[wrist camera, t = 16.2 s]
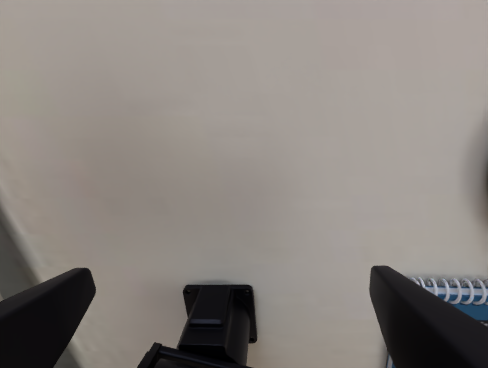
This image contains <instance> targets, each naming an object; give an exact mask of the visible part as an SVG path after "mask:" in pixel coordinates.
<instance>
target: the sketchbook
mask: <svg viewBox="0 0 488 368" xmlns="http://www.w3.org/2000/svg"><path fill="white" fill-rule="evenodd" d="M410 280H412V281H414V282H415V283H417V284H418V285H420V283H419V281H420V282H421V284H422V285H420V286H421V287H423V288H425V289H426V290H428V291H430V292H431V293H433V294H435V295H436V296H438V297H439V298H441V299H443V300H444V301H446V302H448V303H449V304H451V305H453V306H454V307H456V308H458V309H459V310H461V311H462V312H464V313H466V314H467V315H469V316H471V317H472V318H474V319H476V320H477V321H479V322H481V323H482V324H484V325H485V326H487V327H488V287H487V284H488V279H487V280H485V281H484V284H483V282H482V281H481V280H479V279H474V281H473V282H472V283H471V282H470V281H469V280H468V279H462V281H461V284H460V283H459V281H457V280H456V279H454V278H452V279H451V280H450V283H449V284H450V286H449V285H448V282H447V281H446V280H445V279H444V278H441V279H439V281H438V286H437V284H436V282H435V281H434V279H433V278H428V282H427V285H428V286H425V284H424V281H423V280H422V278H417V280H416V279H415V278H410ZM431 281H432V283H433V286H431V283H430V282H431ZM442 281H443V282H444V284H445V286H442ZM453 282H455V283H456V284H457V286H453ZM465 282H467V283H468V285H469V287H464V283H465ZM476 282H478V283H479V284H480V285H481V287H475V285H476ZM460 285H461V286H460ZM386 368H395V366H394V364H393V362H392V359H391V357H390V355H389V354H388V360H387V366H386Z"/></svg>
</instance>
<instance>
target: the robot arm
mask: <svg viewBox="0 0 488 368" xmlns="http://www.w3.org/2000/svg"><path fill="white" fill-rule="evenodd" d="M187 290H189V291H190V292H189V291H187ZM246 290H248V291H249V292H246ZM369 291H370V297H371V300H372V304H373V307H374V310H375V313H376V316H377V319H378V322H379V325H380V328H381V331H382V335H383V338H384V341H385V344H386V347H387V350H388V352H389V355H390V357H391V359H392V362H393V364H394V366H395V368H488V327H487V326H485V325H484V324H482V323H481V322H479V321H477V320H476V319H474V318H472V317H471V316H469V315H467V314H466V313H464V312H462V311H461V310H459V309H458V308H456V307H454V306H453V305H451V304H449V303H448V302H446V301H444V300H443V299H441V298H439V297H438V296H436V295H435V294H433V293H431V292H430V291H428V290H426V289H425V288H423V287H421V286H420V285H418V284H417V283H415V282H413V281H412V280H410V279H408V278H407V277H405V276H403V275H402V274H400V273H398V272H397V271H395V270H394V269H392V268H390V267H388V266H373V267H372V268H371V275H370V288H369ZM95 293H96V287H95V284H94V281H93V277H92V274H91V271H90V270H89V269H88V268H74V269H72V270H70V271H67V272H65V273H63V274H61V275H58V276H56V277H54V278H52V279H50V280H47V281H45V282H43V283H41V284H38V285H36V286H34V287H32V288H30V289H27V290H25V291H23V292H21V293H18V294H16V295H14V296H12V297H10V298H7V299H5V300H3V301H1V302H0V368H53V367H54V365H55V364H56V362H57V361H58V359H59V358H60V356H61V355H62V353H63V351H64V350H65V348H66V347H67V345H68V343H69V342H70V340H71V338H72V337H73V335H74V333H75V331H76V329H77V328H78V326H79V324H80V322H81V320H82V318H83V316H84V315H85V313H86V311H87V309H88V307H89V305H90V303H91V301H92V300H93V298H94V296H95ZM183 295H184V300H185V306H186V311H187V316H188V319H187V322H186V324H185V327H184V329H183V332H182V335H181V337H180V340H179V343H178V345H177V348H176V349H174V348H170V347H166V346H162V344H160V343H156V342H155V343H154V344H153V346H152V347H151V349H150V350H149V351H147V353H146V354H145V356H144V357H143V359H142V361H141V362H140V364H139V365H138V367H137V368H252V367H248V366H246V363H247V353H248V343H255V342H256V341H257V328H256V317H255V306H254V294H253V288H252V287H251V286H249V285H187V286H185V288H184V290H183ZM251 337H252V338H251Z"/></svg>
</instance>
